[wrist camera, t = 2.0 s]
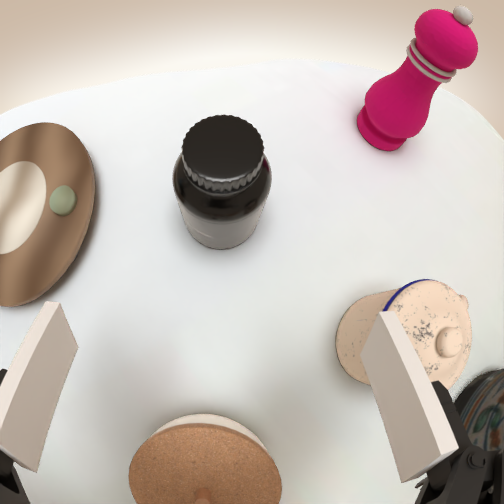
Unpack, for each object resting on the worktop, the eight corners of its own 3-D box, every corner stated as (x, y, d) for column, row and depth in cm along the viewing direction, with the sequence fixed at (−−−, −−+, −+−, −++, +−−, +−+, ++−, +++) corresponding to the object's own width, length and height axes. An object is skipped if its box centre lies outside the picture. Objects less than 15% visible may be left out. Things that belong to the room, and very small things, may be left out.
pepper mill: (340, 114, 32) (412, -23, 13) (381, 101, 34) (454, -13, 14) (377, 163, 31) (484, 39, 12) (415, 145, 33) (511, 41, 13)
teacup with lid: (352, 402, 25) (421, 438, 14) (317, 317, 27) (376, 312, 16) (442, 341, 27) (523, 340, 16) (413, 265, 29) (491, 235, 18)
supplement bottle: (181, 249, 27) (152, 197, 16) (188, 180, 29) (171, 99, 17) (258, 253, 28) (281, 202, 16) (260, 184, 29) (280, 104, 18)
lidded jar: (267, 398, 25) (288, 433, 16) (267, 494, 23) (284, 551, 14) (146, 396, 24) (111, 427, 15) (156, 492, 22) (134, 546, 13)
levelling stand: (-39, 298, 24) (-61, 293, 20) (-7, 147, 28) (-23, 132, 24) (90, 317, 25) (70, 316, 21) (118, 129, 30) (107, 106, 26)
